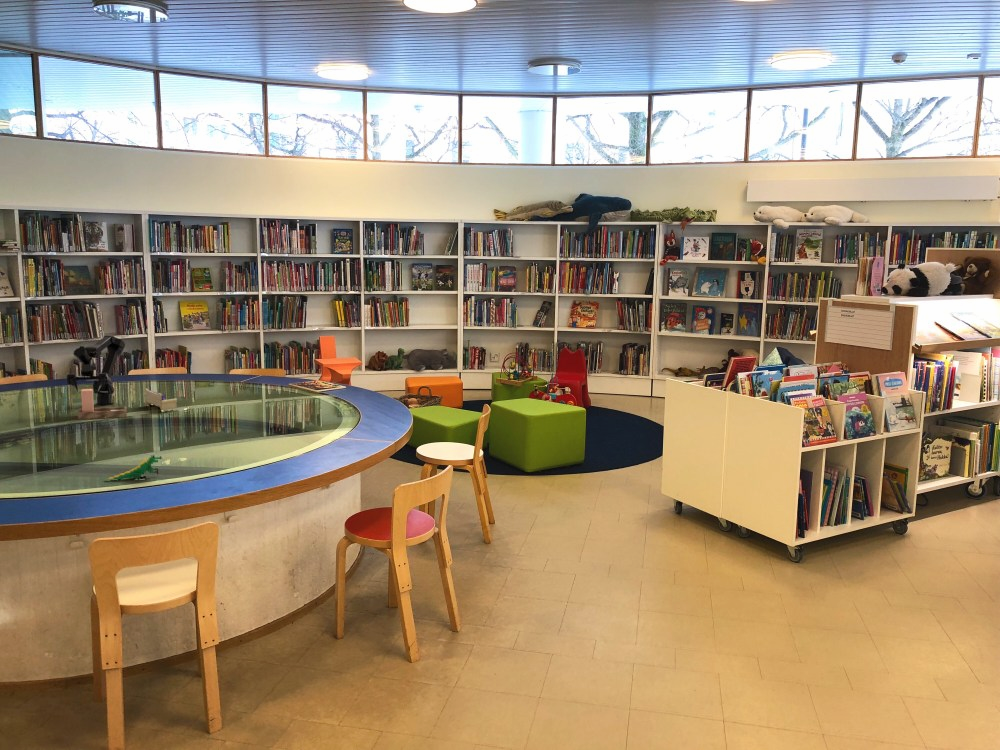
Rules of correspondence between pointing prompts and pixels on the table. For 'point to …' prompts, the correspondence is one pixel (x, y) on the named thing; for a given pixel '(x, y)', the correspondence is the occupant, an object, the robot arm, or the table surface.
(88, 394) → the coral block
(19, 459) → the table surface
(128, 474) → the crocodile
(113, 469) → the table surface
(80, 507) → the table surface
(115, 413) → the box
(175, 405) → the toy sofa
